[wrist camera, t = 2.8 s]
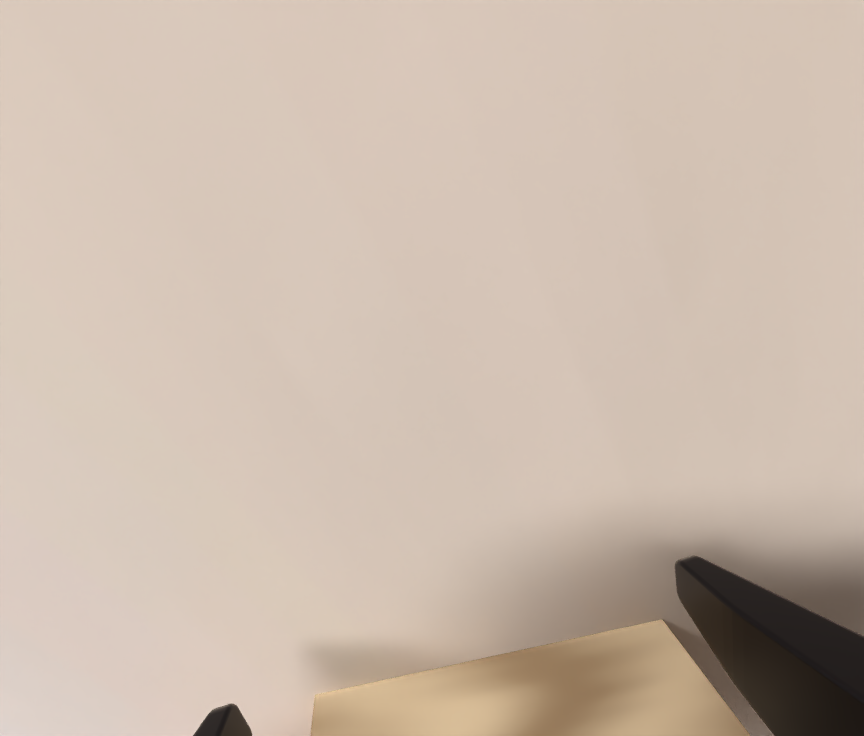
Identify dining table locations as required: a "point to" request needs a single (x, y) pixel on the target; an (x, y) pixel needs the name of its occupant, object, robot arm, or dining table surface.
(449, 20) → the dining table surface
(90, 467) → the dining table surface
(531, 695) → the cream rectangular block
